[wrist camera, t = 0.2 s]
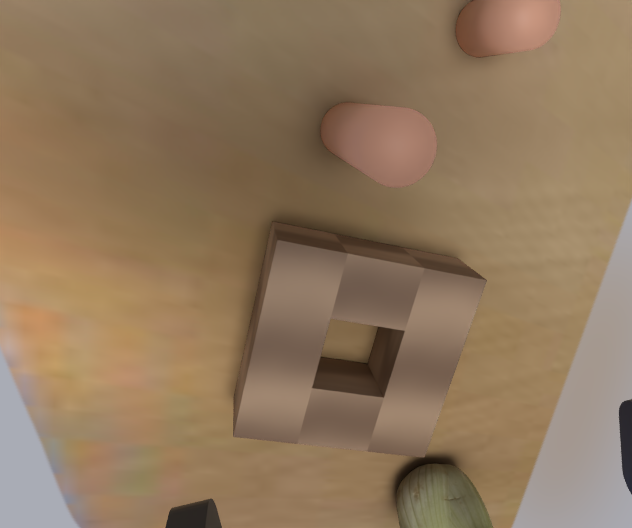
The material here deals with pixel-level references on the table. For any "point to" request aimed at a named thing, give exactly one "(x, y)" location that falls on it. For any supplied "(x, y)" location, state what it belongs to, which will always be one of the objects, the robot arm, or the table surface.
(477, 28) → the short dowel
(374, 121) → the long dowel
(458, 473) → the fennel bulb
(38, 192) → the table surface
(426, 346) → the walnut block
